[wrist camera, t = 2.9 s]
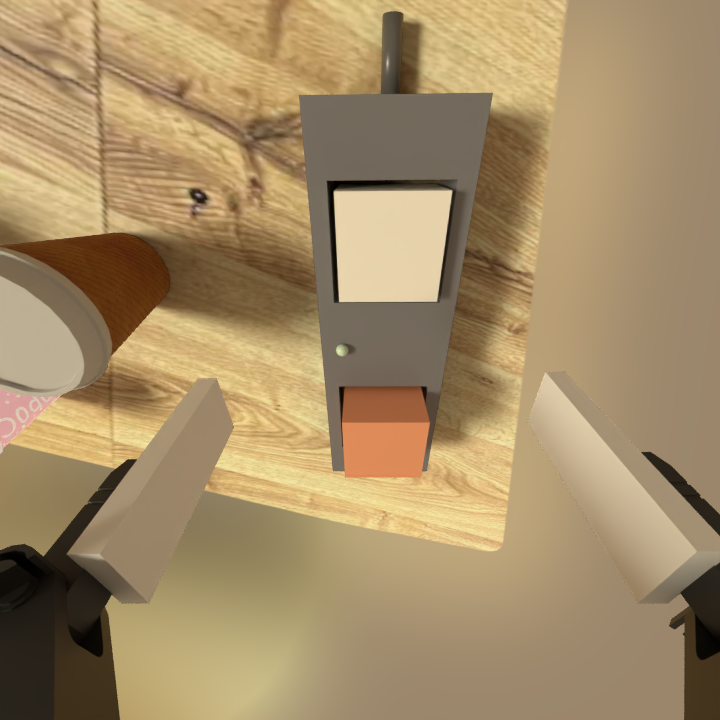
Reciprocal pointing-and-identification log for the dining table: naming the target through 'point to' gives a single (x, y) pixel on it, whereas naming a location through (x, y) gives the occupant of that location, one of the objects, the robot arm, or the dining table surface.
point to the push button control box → (389, 162)
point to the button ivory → (390, 241)
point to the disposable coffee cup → (72, 308)
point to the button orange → (384, 431)
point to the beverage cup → (19, 413)
